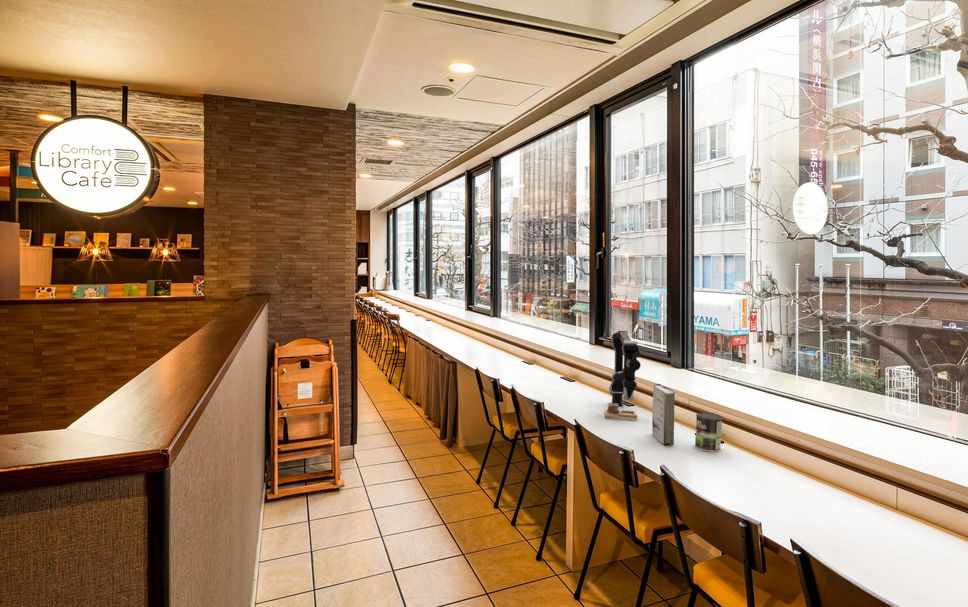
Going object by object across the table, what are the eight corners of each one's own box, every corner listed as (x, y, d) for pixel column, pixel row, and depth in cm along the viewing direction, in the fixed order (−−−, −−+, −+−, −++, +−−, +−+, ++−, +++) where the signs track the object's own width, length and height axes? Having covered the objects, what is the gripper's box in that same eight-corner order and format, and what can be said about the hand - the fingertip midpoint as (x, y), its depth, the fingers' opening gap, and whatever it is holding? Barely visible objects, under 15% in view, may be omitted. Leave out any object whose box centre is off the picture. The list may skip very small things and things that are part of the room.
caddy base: (604, 413, 270) (604, 408, 270) (635, 415, 267) (635, 411, 267) (604, 418, 262) (604, 413, 261) (637, 420, 258) (637, 415, 258)
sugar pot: (632, 398, 265) (633, 385, 264) (633, 400, 260) (634, 387, 260) (623, 397, 266) (623, 384, 265) (623, 400, 261) (624, 387, 261)
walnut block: (617, 413, 267) (617, 403, 267) (618, 415, 262) (618, 406, 262) (607, 412, 268) (608, 402, 268) (608, 414, 263) (608, 405, 263)
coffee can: (705, 452, 213) (706, 419, 212) (689, 444, 223) (691, 413, 223) (726, 451, 216) (727, 418, 215) (710, 443, 226) (711, 411, 225)
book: (650, 433, 237) (652, 382, 236) (662, 434, 237) (664, 383, 236) (661, 446, 221) (663, 391, 219) (674, 446, 221) (676, 391, 219)
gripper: (612, 362, 273) (611, 391, 274) (614, 369, 254) (613, 400, 255) (634, 364, 270) (633, 393, 271) (637, 370, 252) (636, 401, 253)
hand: (628, 396), depth 263 cm, fingers closed on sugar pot, 5 cm apart
